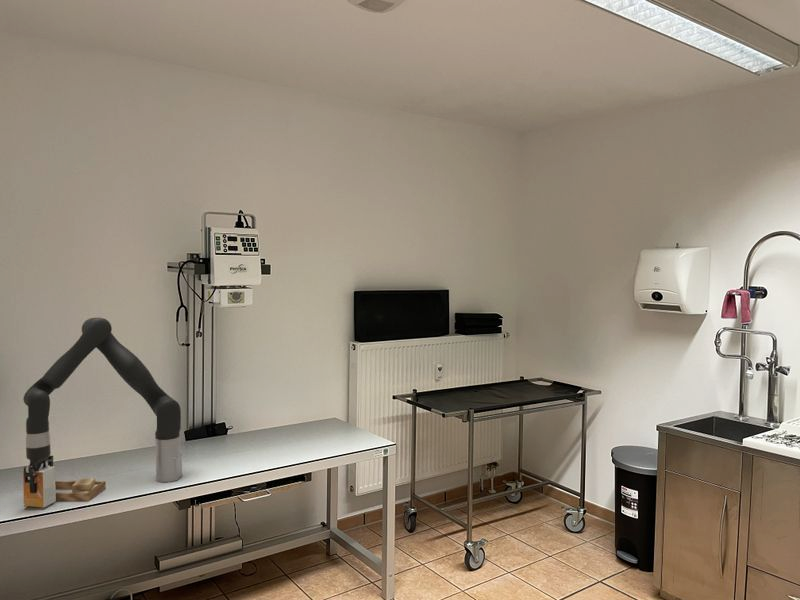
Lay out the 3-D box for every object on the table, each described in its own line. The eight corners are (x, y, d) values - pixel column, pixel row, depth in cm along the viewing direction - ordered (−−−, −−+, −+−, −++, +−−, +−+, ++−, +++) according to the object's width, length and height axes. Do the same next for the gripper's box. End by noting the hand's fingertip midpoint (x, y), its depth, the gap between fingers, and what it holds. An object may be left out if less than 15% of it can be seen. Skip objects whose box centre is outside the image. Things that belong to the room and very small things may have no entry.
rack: (105, 488, 235) (105, 473, 235) (88, 501, 222) (87, 485, 222) (47, 488, 236) (46, 473, 235) (26, 501, 223) (25, 485, 222)
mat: (55, 502, 222) (55, 500, 222) (43, 509, 215) (43, 508, 215) (36, 501, 222) (36, 500, 222) (24, 509, 215) (24, 508, 215)
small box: (23, 506, 216) (22, 470, 215) (36, 500, 222) (35, 465, 222) (43, 508, 215) (42, 471, 214) (56, 501, 221) (55, 466, 220)
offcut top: (95, 484, 233) (95, 478, 233) (89, 491, 226) (89, 484, 226) (78, 485, 232) (78, 479, 232) (72, 492, 225) (72, 485, 225)
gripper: (36, 450, 210) (38, 496, 211) (59, 438, 224) (61, 482, 225) (15, 450, 210) (16, 496, 211) (39, 438, 225) (41, 482, 225)
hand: (39, 489), depth 218 cm, fingers open, 7 cm apart
